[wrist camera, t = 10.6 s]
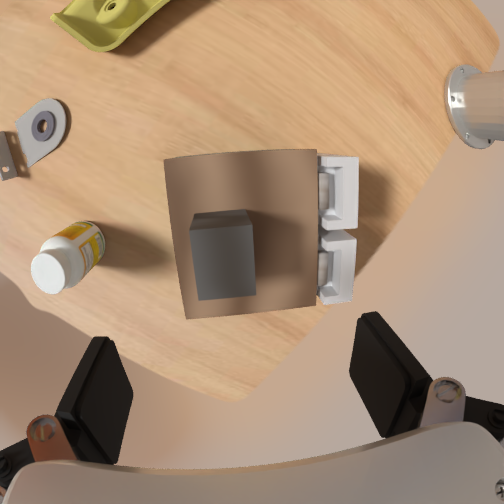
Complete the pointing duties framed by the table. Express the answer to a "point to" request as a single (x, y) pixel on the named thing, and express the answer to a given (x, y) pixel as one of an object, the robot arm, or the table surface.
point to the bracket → (34, 135)
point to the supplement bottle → (68, 257)
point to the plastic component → (105, 20)
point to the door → (247, 230)
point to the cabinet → (337, 225)
